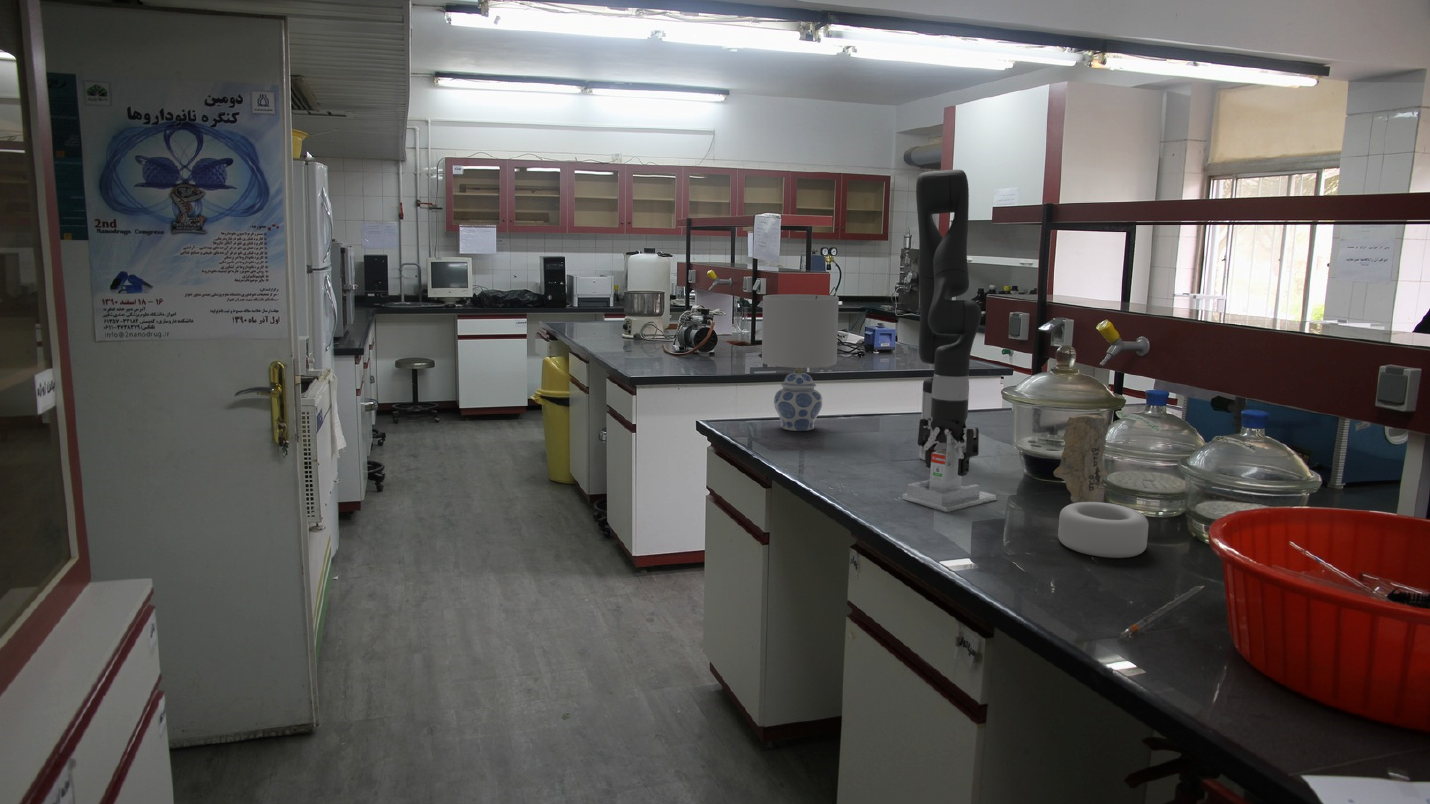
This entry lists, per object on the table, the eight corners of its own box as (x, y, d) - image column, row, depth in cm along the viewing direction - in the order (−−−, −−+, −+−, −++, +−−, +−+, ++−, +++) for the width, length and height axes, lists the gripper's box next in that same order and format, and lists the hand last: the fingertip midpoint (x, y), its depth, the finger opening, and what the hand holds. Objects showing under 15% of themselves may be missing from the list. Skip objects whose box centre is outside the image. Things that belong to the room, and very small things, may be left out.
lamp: (838, 436, 263) (843, 299, 256) (761, 435, 263) (764, 299, 256) (830, 421, 284) (834, 294, 277) (759, 420, 284) (761, 294, 278)
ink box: (927, 497, 198) (931, 430, 196) (946, 490, 204) (949, 424, 201) (943, 501, 196) (947, 432, 193) (961, 493, 201) (965, 427, 199)
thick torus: (1139, 566, 162) (1142, 528, 160) (1049, 549, 169) (1051, 514, 168) (1151, 542, 174) (1154, 507, 173) (1067, 528, 182) (1069, 495, 181)
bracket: (951, 487, 210) (952, 472, 210) (995, 499, 201) (996, 483, 200) (902, 498, 201) (903, 482, 200) (946, 512, 191) (947, 495, 191)
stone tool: (1099, 503, 198) (1107, 410, 195) (1114, 511, 193) (1122, 416, 189) (1044, 505, 197) (1051, 411, 194) (1057, 513, 191) (1064, 417, 188)
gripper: (989, 399, 193) (984, 475, 195) (935, 389, 204) (931, 462, 207) (965, 402, 188) (961, 481, 191) (911, 392, 199) (908, 467, 202)
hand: (946, 471), depth 199 cm, fingers open, 8 cm apart
